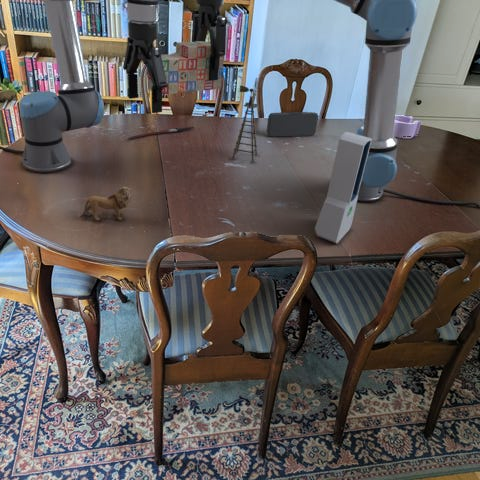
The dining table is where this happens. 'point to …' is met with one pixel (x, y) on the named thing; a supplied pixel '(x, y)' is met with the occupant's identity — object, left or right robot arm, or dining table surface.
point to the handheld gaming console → (292, 124)
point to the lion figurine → (109, 203)
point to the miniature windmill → (250, 106)
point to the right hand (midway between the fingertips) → (206, 76)
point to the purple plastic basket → (405, 126)
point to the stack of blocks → (189, 69)
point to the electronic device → (343, 187)
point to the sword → (162, 132)
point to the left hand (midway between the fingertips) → (144, 104)
